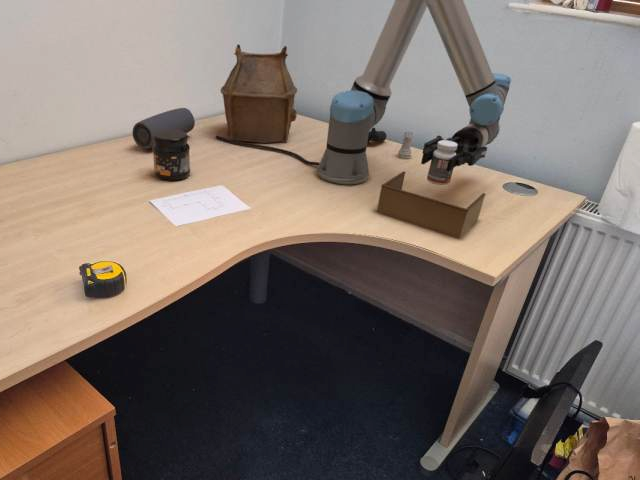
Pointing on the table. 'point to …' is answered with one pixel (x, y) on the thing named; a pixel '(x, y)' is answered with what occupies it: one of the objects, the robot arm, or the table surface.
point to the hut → (259, 98)
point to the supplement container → (171, 155)
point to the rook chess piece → (406, 146)
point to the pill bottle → (441, 163)
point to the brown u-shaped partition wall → (427, 209)
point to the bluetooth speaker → (162, 125)
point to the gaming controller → (376, 136)
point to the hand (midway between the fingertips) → (436, 161)
